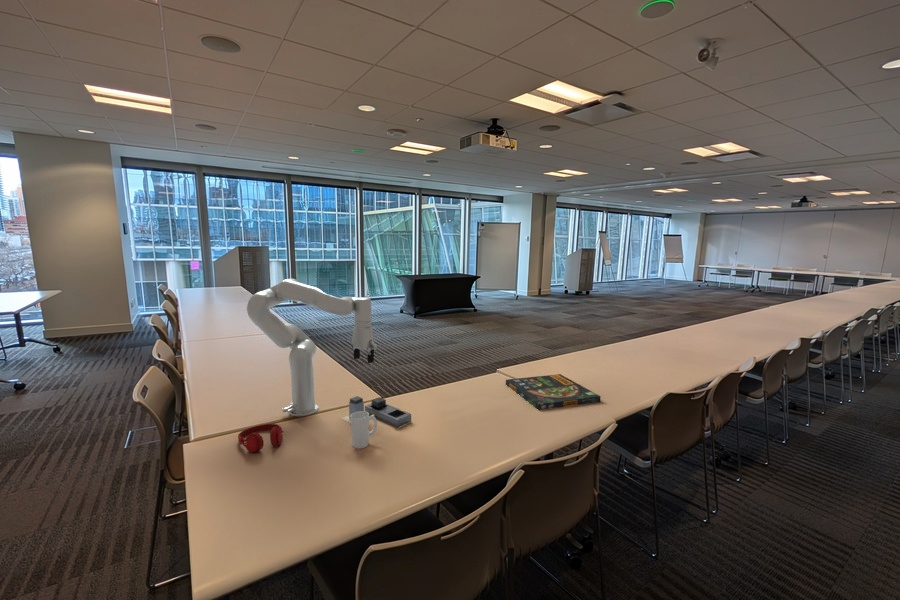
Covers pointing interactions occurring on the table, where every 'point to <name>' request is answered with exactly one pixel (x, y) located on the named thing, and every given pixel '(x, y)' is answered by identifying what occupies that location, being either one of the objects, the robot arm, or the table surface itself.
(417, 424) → the table surface
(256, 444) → the headphones
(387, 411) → the pdu strip
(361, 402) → the plug
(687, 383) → the table surface
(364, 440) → the mug
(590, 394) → the pizza box
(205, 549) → the table surface
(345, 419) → the coaster
